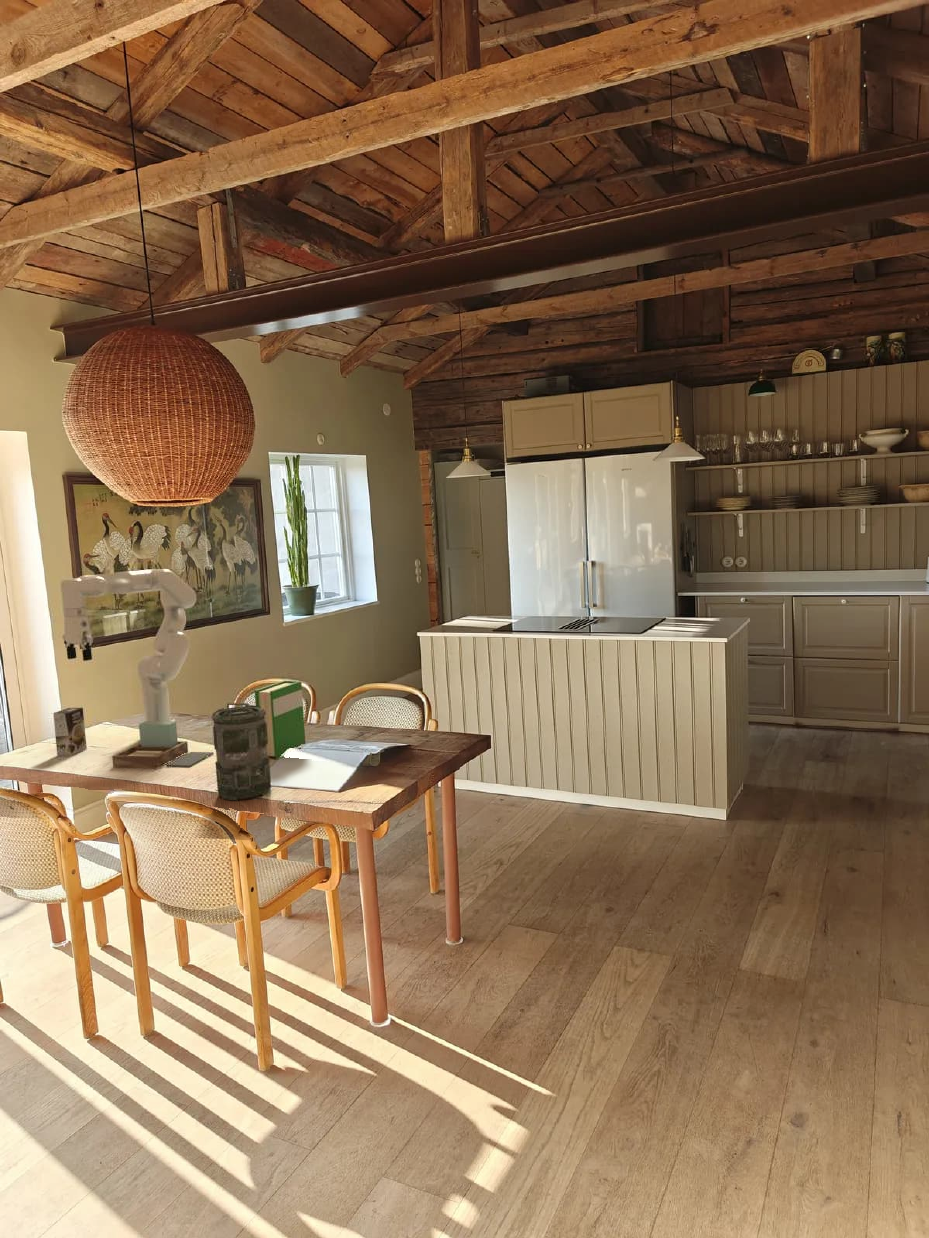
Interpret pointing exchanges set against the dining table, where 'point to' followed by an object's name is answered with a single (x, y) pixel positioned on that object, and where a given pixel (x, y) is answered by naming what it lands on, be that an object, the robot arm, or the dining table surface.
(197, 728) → the dining table surface
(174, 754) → the rack
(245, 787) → the canister
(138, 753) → the offcut upper
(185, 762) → the mat
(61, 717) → the coffee box
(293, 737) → the hardback book
